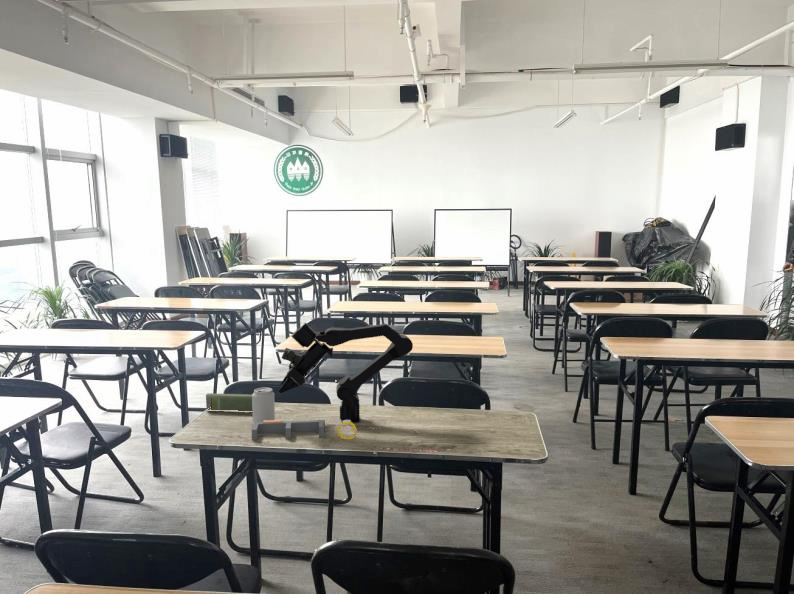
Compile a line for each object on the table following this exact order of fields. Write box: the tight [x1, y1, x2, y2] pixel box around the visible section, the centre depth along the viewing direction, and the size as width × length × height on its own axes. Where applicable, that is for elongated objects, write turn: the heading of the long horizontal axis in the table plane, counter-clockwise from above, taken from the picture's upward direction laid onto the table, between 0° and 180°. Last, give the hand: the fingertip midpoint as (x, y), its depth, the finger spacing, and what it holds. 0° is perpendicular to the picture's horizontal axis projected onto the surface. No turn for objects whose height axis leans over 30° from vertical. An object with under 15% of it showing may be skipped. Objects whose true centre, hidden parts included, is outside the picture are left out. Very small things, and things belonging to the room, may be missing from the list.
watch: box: [337, 420, 357, 440], centre depth 185 cm, size 6×3×6 cm, turn 77°
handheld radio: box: [205, 393, 252, 411], centre depth 213 cm, size 7×3×25 cm
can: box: [251, 387, 276, 424], centre depth 200 cm, size 8×8×12 cm
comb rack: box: [251, 419, 326, 441], centre depth 188 cm, size 23×7×4 cm, turn 97°
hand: (280, 388), depth 200 cm, fingers open, 9 cm apart
